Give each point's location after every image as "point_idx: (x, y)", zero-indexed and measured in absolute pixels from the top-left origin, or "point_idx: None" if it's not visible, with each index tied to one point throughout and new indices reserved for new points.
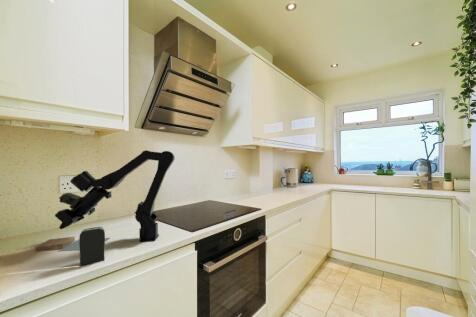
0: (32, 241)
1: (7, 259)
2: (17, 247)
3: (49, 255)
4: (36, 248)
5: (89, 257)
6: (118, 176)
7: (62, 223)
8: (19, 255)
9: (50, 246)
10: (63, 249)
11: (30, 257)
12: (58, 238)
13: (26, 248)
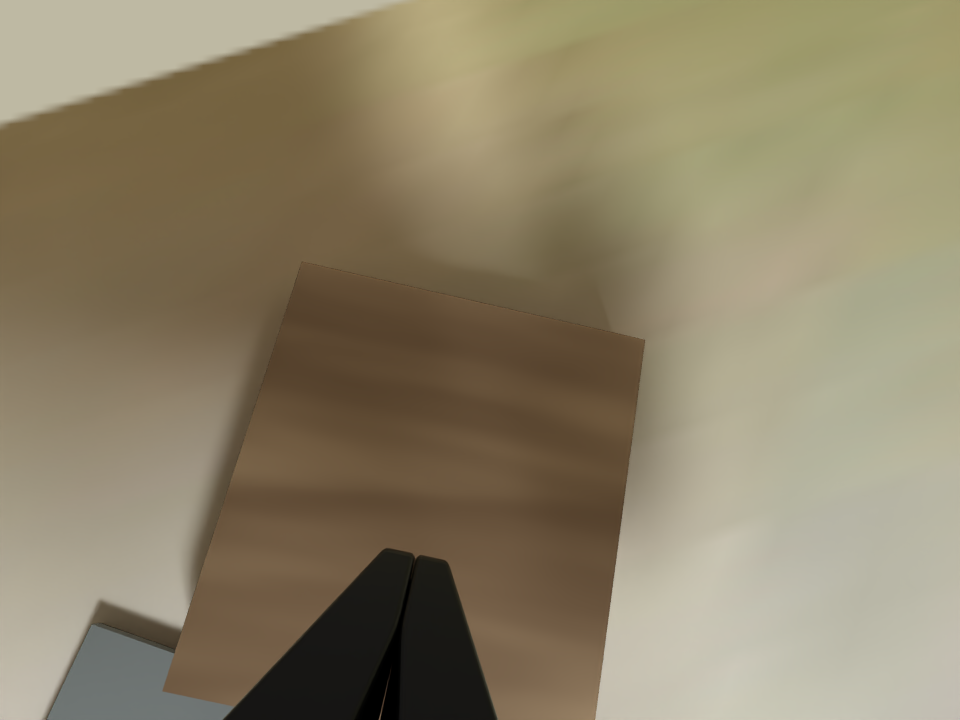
0: (829, 108)
1: (206, 83)
2: (639, 30)
3: (28, 547)
4: (297, 290)
5: None
6: None
7: (260, 696)
8: (287, 155)
9: (237, 479)
10: (137, 706)
11: (111, 311)
12: (620, 476)
13: (546, 138)
